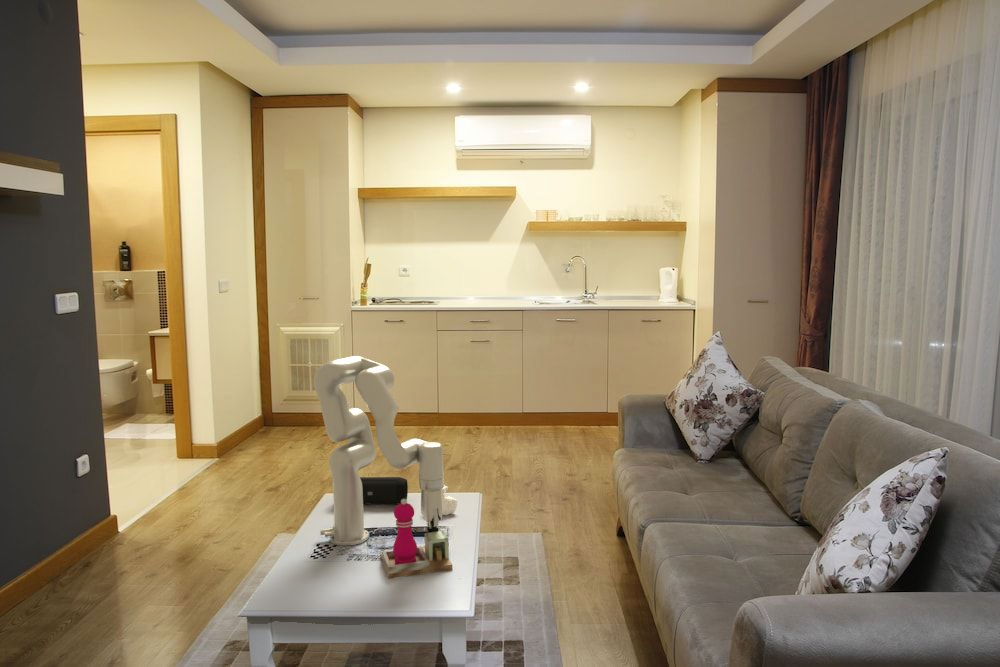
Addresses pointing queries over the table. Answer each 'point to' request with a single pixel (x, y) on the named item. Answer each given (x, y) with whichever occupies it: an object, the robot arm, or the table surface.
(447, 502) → the bust
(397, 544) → the pepper mill
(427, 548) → the block
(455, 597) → the table surface
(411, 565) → the stand
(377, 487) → the portable speaker
